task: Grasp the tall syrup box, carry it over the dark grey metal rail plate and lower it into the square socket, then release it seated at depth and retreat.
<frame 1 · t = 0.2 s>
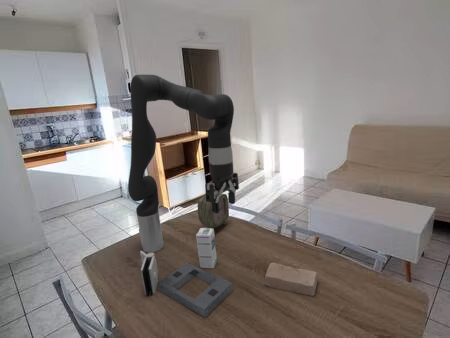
hand: (224, 207, 90), 28 cm above the table, fingers open, 8 cm apart
syrup box: (208, 264, 108), on the table
rail plate: (195, 290, 94), on the table
tabletop clock: (214, 228, 136), on the table
brick: (291, 284, 94), on the table
hinge: (149, 283, 99), on the table
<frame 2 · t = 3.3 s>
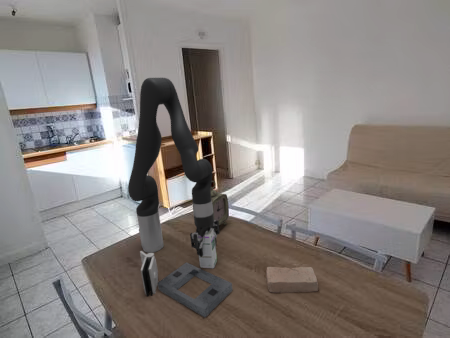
hand: (207, 250, 106), 6 cm above the table, fingers closed on syrup box, 7 cm apart
syrup box: (208, 264, 108), on the table, touching gripper
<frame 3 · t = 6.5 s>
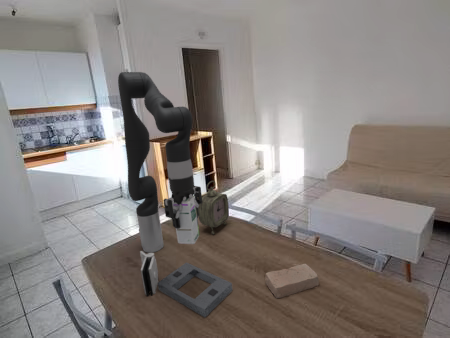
hand: (186, 222, 87), 26 cm above the table, fingers closed on syrup box, 7 cm apart
syrup box: (188, 240, 89), point 19 cm above the table, touching gripper
when the fingers open (7 cm above the table, at t = 10.1 s): syrup box drops 1 cm, resting in rail plate.
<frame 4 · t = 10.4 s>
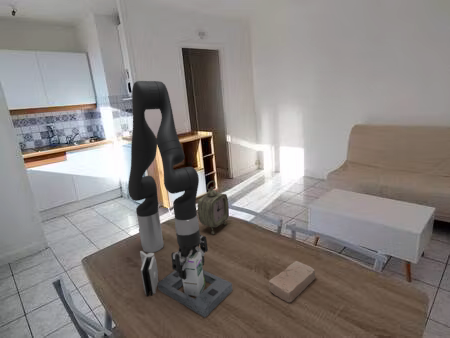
hand: (192, 271, 92), 8 cm above the table, fingers open, 8 cm apart
syrup box: (195, 290, 94), resting in rail plate
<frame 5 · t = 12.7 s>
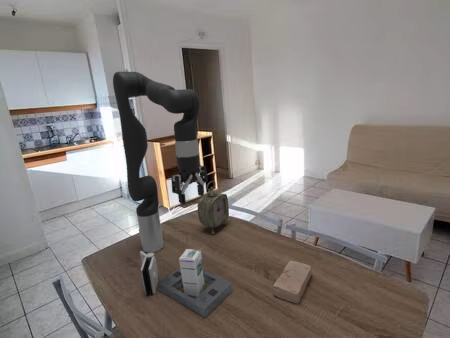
hand: (192, 199, 93), 31 cm above the table, fingers open, 8 cm apart
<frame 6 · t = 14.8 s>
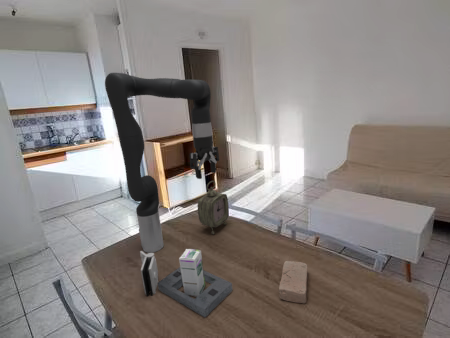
hand: (206, 175, 107), 34 cm above the table, fingers open, 8 cm apart
at the end: syrup box inside the target area on the rail plate (0.0 cm from its centre), point 0.0 cm above the rail plate's base; syrup box tilted 0°; the gripper is holding nothing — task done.
